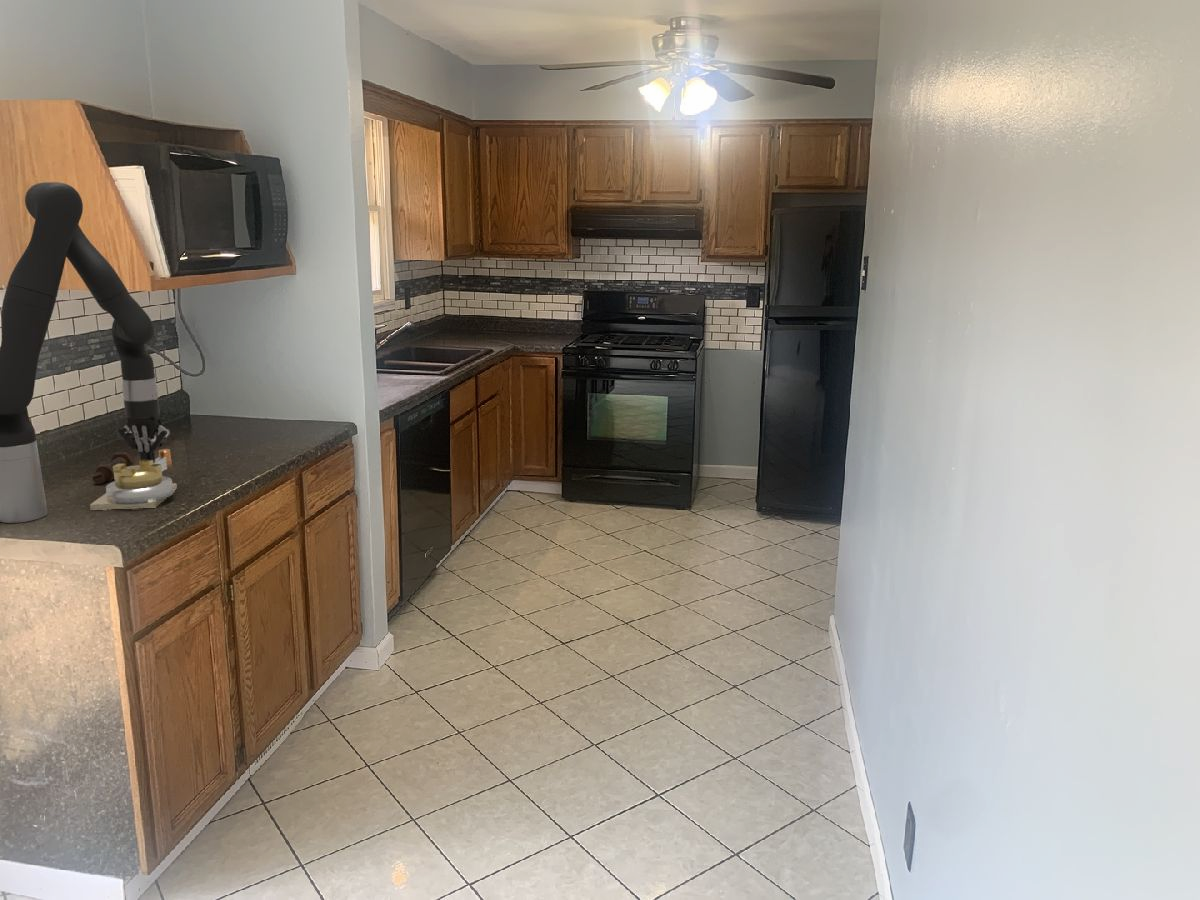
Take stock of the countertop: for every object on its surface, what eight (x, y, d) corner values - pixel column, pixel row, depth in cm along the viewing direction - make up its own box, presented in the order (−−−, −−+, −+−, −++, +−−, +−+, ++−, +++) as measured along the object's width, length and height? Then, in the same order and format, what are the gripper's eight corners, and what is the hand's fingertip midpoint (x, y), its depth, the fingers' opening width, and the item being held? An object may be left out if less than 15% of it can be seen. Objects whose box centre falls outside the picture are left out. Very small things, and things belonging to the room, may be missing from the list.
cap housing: (89, 512, 205) (86, 493, 204) (117, 490, 221) (115, 473, 220) (162, 509, 207) (160, 491, 206) (185, 488, 223) (183, 471, 222)
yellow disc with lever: (150, 488, 207) (147, 470, 206) (106, 488, 207) (103, 469, 206) (188, 466, 226) (187, 449, 225) (148, 465, 226) (146, 448, 225)
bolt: (96, 492, 226) (122, 474, 241) (113, 483, 226) (138, 465, 240) (81, 473, 225) (108, 457, 239) (98, 464, 224) (124, 447, 239)
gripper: (105, 398, 214) (113, 468, 218) (157, 400, 213) (164, 471, 217) (125, 392, 221) (133, 460, 226) (175, 395, 220) (182, 463, 224)
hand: (148, 465), depth 221 cm, fingers closed
